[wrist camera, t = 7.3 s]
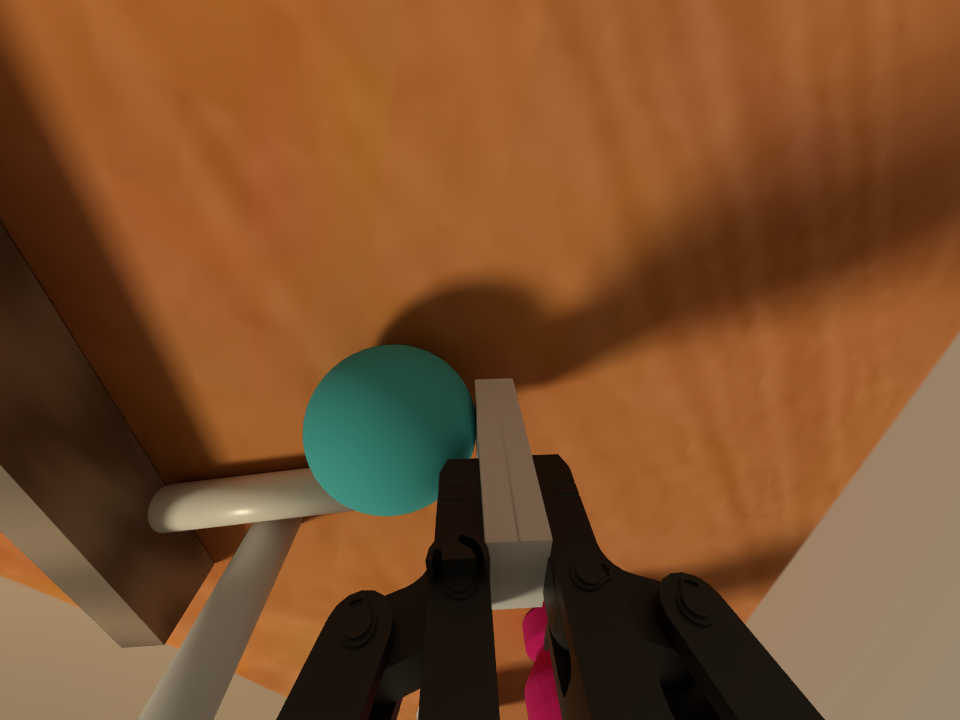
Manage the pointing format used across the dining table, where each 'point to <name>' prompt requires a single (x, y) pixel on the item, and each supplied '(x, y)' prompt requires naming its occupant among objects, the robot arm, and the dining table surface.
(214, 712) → the grey pin
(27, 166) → the dining table surface
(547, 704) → the pepper mill
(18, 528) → the back wall
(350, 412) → the ball
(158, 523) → the ivory pin
